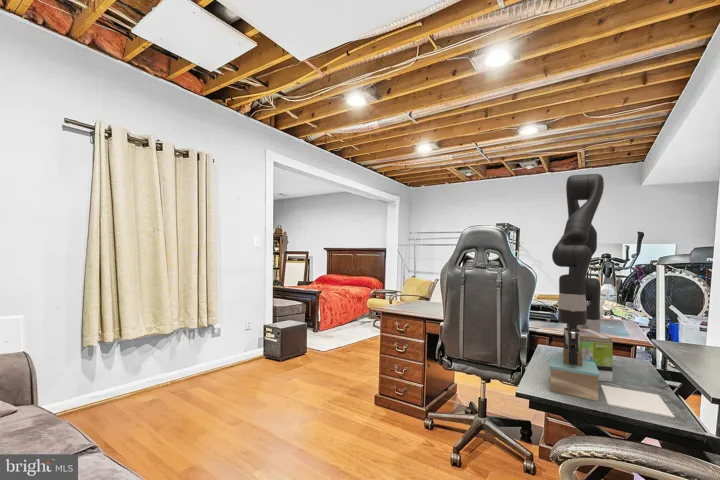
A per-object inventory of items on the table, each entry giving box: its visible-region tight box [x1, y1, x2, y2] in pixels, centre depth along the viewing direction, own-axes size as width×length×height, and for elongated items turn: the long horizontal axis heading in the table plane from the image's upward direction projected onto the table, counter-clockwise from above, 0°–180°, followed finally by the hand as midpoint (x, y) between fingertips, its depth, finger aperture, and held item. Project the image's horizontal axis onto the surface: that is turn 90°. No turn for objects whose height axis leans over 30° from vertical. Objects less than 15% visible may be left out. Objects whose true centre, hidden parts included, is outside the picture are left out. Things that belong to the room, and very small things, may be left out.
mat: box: [600, 384, 676, 419], centre depth 97 cm, size 16×14×1 cm
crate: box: [550, 369, 599, 401], centre depth 104 cm, size 12×12×7 cm
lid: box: [548, 348, 600, 377], centre depth 105 cm, size 13×13×6 cm
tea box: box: [563, 327, 614, 382], centre depth 119 cm, size 15×10×15 cm
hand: (572, 361), depth 105 cm, fingers open, 6 cm apart
